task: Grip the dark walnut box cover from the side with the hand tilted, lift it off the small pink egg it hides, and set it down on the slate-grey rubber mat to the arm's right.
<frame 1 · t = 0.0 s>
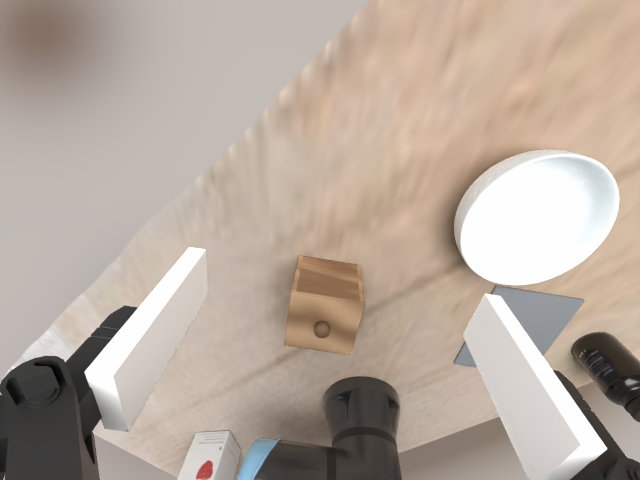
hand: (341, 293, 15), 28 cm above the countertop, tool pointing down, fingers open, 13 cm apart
walnut cover: (325, 284, 49), on the countertop
slate mat: (512, 333, 52), on the countertop
supplement box: (219, 440, 75), on the countertop
cereal bowl: (507, 203, 41), on the countertop
supplement bottle: (591, 344, 53), on the countertop
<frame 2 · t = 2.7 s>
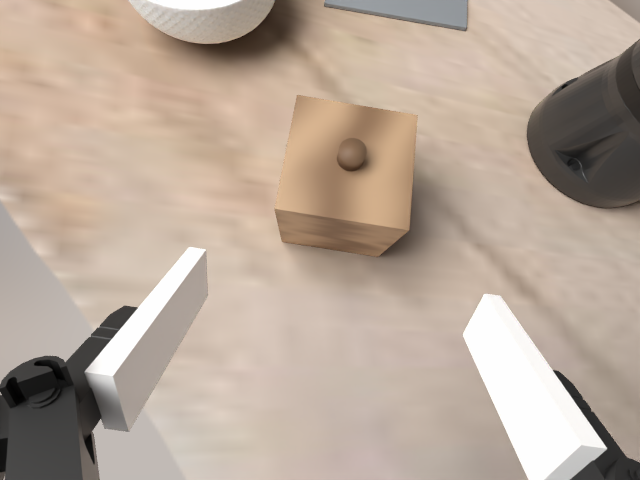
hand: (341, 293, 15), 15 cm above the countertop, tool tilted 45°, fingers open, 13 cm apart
walnut cover: (336, 204, 32), on the countertop
cereal bowl: (213, 14, 37), on the countertop
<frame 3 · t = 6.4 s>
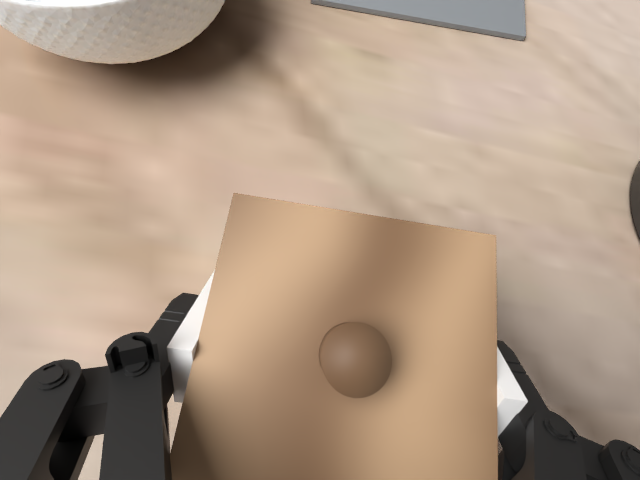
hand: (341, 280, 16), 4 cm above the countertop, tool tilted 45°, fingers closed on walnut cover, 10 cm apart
walnut cover: (326, 339, 19), on the countertop, touching gripper
cereal bowl: (140, 15, 24), on the countertop
when the fingers open (5 cm above the countertop, at t = 13.3 s): walnut cover drops 1 cm, resting on slate mat.
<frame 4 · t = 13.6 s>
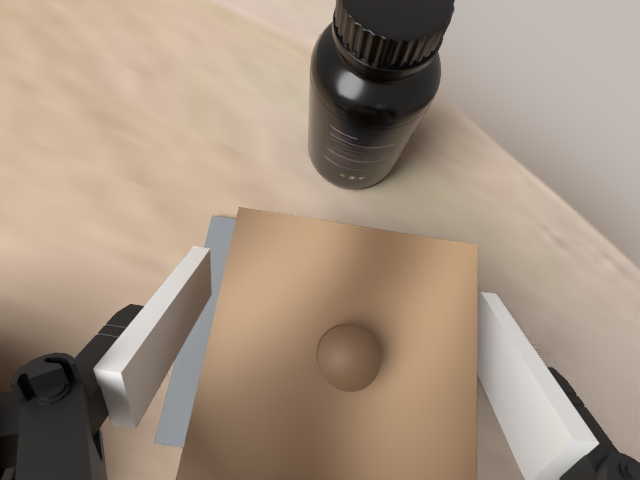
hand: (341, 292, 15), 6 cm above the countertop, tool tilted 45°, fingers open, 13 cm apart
walnut cover: (324, 339, 20), resting on slate mat
slate mat: (325, 339, 20), on the countertop
supplement bottle: (350, 153, 24), on the countertop
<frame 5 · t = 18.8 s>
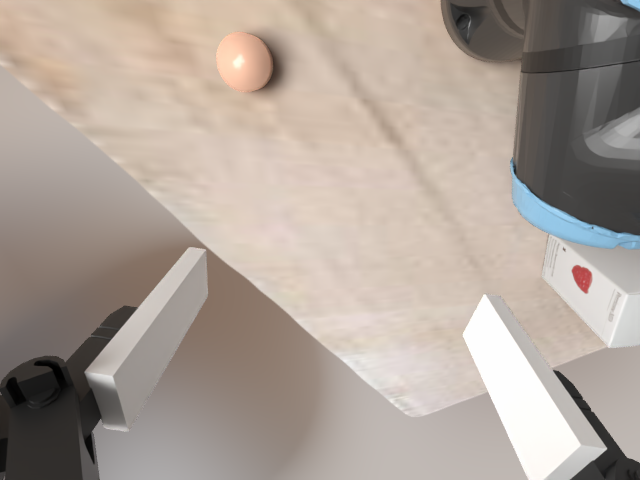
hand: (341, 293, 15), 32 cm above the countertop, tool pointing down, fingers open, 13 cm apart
supplement box: (573, 250, 48), on the countertop
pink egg: (249, 63, 38), on the countertop
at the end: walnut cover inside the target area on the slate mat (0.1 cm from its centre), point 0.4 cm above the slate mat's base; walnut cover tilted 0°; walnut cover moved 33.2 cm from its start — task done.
